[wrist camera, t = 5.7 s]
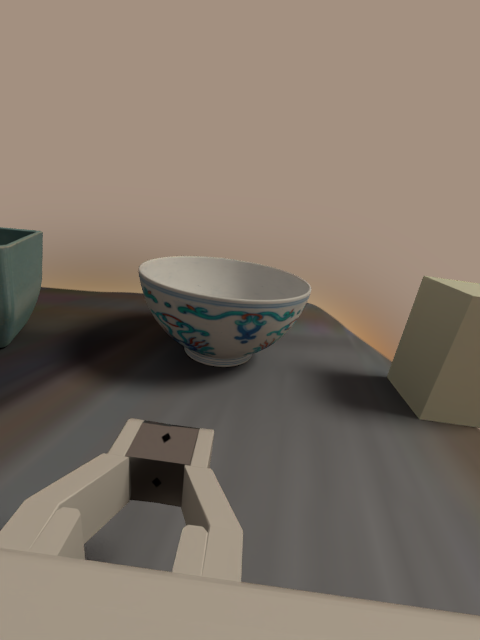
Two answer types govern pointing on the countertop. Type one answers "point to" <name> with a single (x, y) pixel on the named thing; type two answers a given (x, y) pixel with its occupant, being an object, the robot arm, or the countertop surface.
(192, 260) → the chinaware
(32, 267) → the flower pot
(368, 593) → the countertop surface
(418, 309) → the sage block
